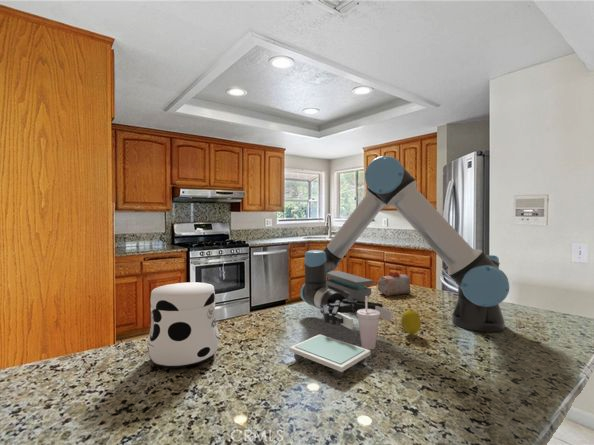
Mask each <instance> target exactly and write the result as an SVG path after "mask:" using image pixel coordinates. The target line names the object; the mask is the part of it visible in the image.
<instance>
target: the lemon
mask: <svg viewBox="0 0 594 445" xmlns="http://www.w3.org/2000/svg"><path fill="white" fill-rule="evenodd" d="M421 322H422V321H421V316H420V315H419V313H418V312H417V311H416V310H413V309H412V308H409V309H407V310H405V311H404V312H403V314H402V316H401V327H402V329H403V331H405V332H406V334H407V333H408V335H409V336H413V335H414V334H416V333H418V332H419V331H420V329H421Z"/></svg>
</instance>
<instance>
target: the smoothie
mask: <svg viewBox="0 0 594 445" xmlns="http://www.w3.org/2000/svg"><path fill="white" fill-rule="evenodd" d="M367 302H368V298H367V296H365V309H360V310H358V311H357V312H356V316H357V320H358V327H359V338H360V345H361V348H364V349H367V350H373V349H375V348H376V345H377V344H376V343H377V337H378V336H377V335H378V329H379V320H380V318H381V317H380V312H379V311H377V310H374V309H367Z"/></svg>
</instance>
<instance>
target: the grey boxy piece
mask: <svg viewBox="0 0 594 445" xmlns="http://www.w3.org/2000/svg"><path fill="white" fill-rule="evenodd" d="M377 290H378V292H380V293H381V294H382V295H384V294H385V296H387V297H391V296H398V295H406V294H411V280H410V277H409V276H408V275H407V274H399V273H398V271H397V272H393V271H390V272H389V273H388V275H384V276H380V279H378V280H377Z"/></svg>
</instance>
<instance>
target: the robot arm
mask: <svg viewBox="0 0 594 445" xmlns="http://www.w3.org/2000/svg"><path fill="white" fill-rule="evenodd" d="M364 179H365V180H364V181H365V184H366V186H367V188H366V194H365V196H364V197H362V199H361V201H360V202H359V203H358V205H357V206H356V207H355V209H354V210H353V211H352V213H351V214H350V215H349V216H348V218H346V220H345V221H344V223H343V225H342V226H341V227H340V228H339V229H338V230H337V232H336V233H335V235H333V237H332V239H331V240H330V241H329V243H327V245H326V247H325V248H324V249H323V250H314V249H312V250H307V251H306V252H305V253H304V262H303V263H304V284H302V286H301V288H300V291H299V293H300V298H301V299H302V301H304V303H306V304H308V305H310V306H312V307H314V308H316V309H318V310H320V313H321V314H322V316H323V318H324V319H323V320H324V323H329V322H330V321H331V325H334V326H335V325H336V324H339V325H341V326H343V327H345V328H347V329H349V330H353V329H354V318H352V317H350V316H348V315H346V314H348V313H349V314H357V311H358V310H360V309H365V301H361V300H358V299H354V301H349V300H346V299H345V297H344V296H343V295H342V294H341V293H339V292H336V291H334V290H331V289H328V288H326V280H327V277H326V273H328V272H330V271H335V270H336V269H337V267H339V264H340V261H342V259H343V258H344V256H345V255H346V254H347V252H348V251H349V250H351V247H352V246H353V245H354V244H355V243H356V242H357V240H358V239H359V238H360V237H361V235H362V234H363V233H364V231H365V230H366V229H367V228H368V226H369V225H370V224H371V223H372V221H373V220H374V219H375V218H376V217H377V216H378V214H379V212H380V211H381V210H382V209H384V208H383V207H394V208H395V209H396V210H397V212H399V213H400V215H401V216H402V217H403V218H404V219H405V221H407V222H408V223H409V224H410V227H412V228H413V229H414V230H415V232H416V233H418V235H419V236H420V237H421V238H422V240H424V241H425V243H426V244H427V245H428V246H429V247H430V248H431V249H432V250H433V251H434V253H435V254H436V255H437V256H438V257H439V258H440V259H441V261H442V262H443V263H444V264H445V265H446V266H447V275H448V276H449V277H450V278H451V280H453V282H454V283H455V284H456V285H457V290H458V292H457V301H456V303H455V306H454V309H453V312H452V315H451V316H452V317H451V319H452V323H453V324H454V325H456V326H458V327H460V328H463V329H466V330H471V331H476V332H481V333H482V332H485V333H486V332H487V333H497V332H503V331H504V330H505V326H506V325H505V318H504V315H503V312H502V310H501V307H500V304H501V303H503V301H504V300H505V299H506V298H507V296H508V295H509V292H510V282H509V278H508V276H507V274H506V273H505V272H504V271H503V270H502V269H500V261H499V257H498V256H497V255H492V254H491V255H490V254H486V253H485V252H484V251H483V250H481V249H476V248H472V246H470V244H469V243H468V242H467V241H466V240H465V239H464V237H462V236H461V235H460V233H459V232H458V231H457V230H456V229H455V228H454V227H453V226H452V225H451V224H450V223H449V222H448V221H447V219H446V218H444V216H443V215H442V214H441V213H440V212H439V211H438V210H437V209H436V208H435V207H434V206H433V204H431V202H430V201H429V200H428V199H427V198H426V197H425V196H424V195H423V194H422V193H421V192H420V191H419V190H418V188H417V184H418V183H417V180H416V179H415V178H414V177H413V175H412V174H410V172H409V171H408V170H407V169H406V168H405V167H404V166H403V164H402V163H401V162H400V160H399V159H397V158H395V157H394V156H389V155H382V156H378V157H376V158H374V159H373V160H371V161H370V163H369V164H368V165H367V166H366V169H365V173H364ZM367 309H374V310H377V311H379V312H380V317H379V318H382V319H384V320H385V321H388V322H394V320H393V318H394V315H393V314H394V313H393V311H392V310H389V309H386V308H384V307H383V303H380V302H373V301H367Z"/></svg>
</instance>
